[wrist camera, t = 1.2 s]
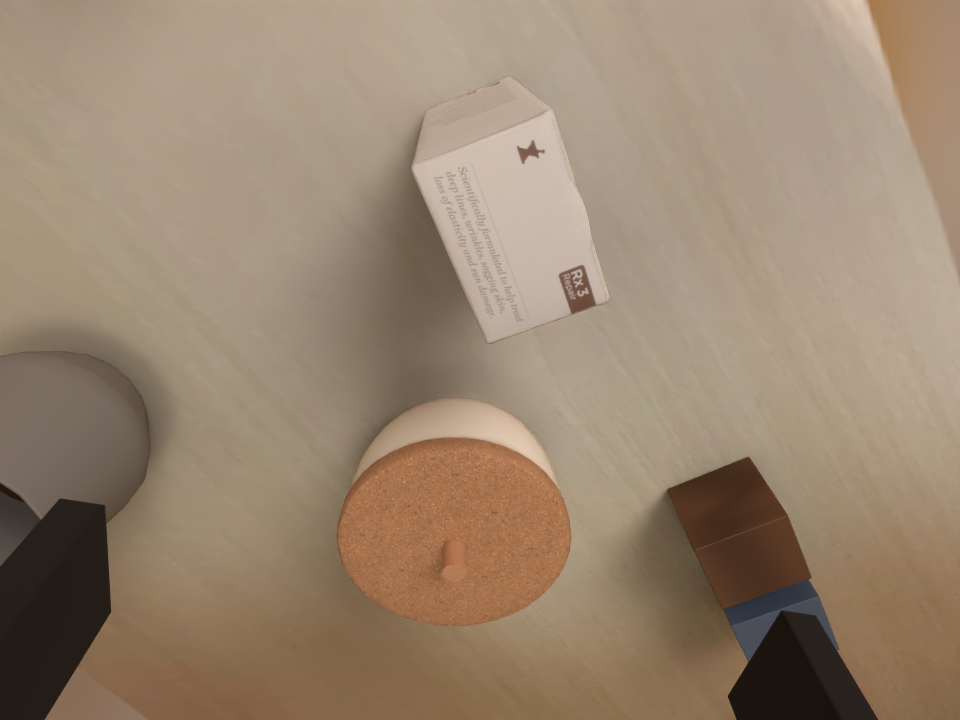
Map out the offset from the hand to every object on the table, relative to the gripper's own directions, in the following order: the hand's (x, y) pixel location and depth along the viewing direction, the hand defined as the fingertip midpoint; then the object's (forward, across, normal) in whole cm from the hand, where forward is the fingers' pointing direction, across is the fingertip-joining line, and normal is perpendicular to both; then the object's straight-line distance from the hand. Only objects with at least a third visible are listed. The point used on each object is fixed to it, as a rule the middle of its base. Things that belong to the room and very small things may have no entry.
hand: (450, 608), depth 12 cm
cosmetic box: (+21, 0, +5) cm, 22 cm away
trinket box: (+21, +2, -11) cm, 24 cm away
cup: (+21, -18, -12) cm, 30 cm away
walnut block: (+21, +18, -11) cm, 30 cm away
